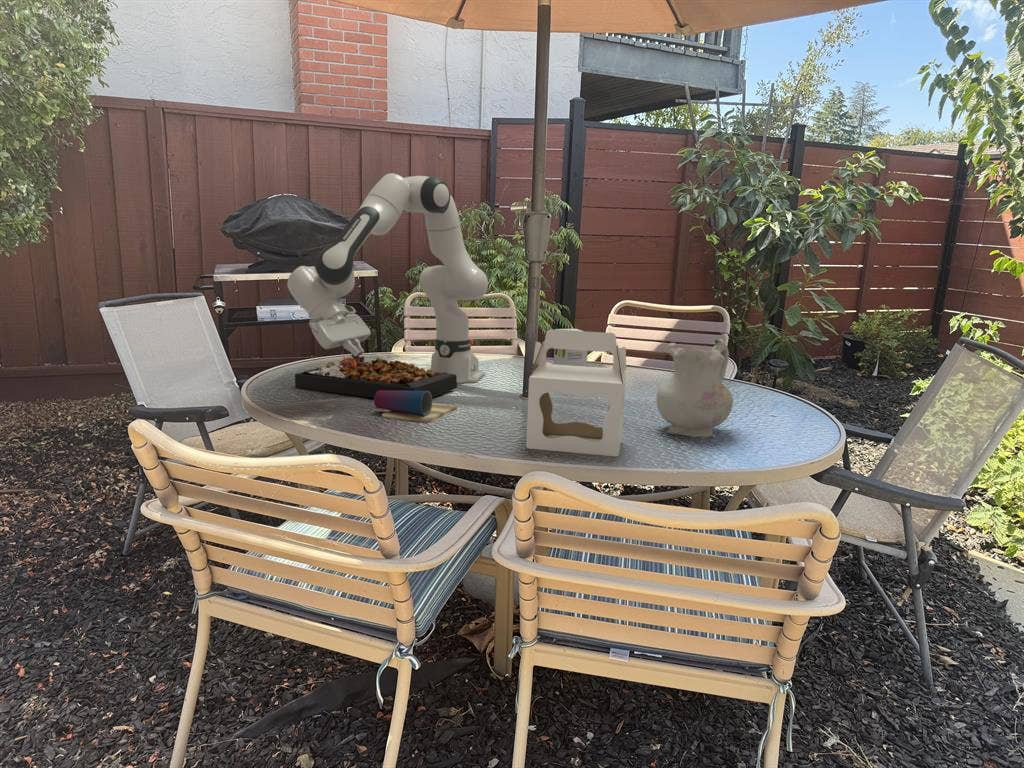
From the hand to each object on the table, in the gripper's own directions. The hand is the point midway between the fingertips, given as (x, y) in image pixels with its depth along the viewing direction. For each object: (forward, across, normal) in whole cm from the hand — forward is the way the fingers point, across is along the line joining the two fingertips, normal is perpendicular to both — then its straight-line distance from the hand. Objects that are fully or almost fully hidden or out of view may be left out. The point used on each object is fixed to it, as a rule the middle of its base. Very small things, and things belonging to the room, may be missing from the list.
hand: (359, 354), depth 194 cm
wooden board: (+23, +5, 0) cm, 23 cm away
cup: (+13, 0, +4) cm, 13 cm away
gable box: (+57, -6, -34) cm, 67 cm away
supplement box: (+38, +80, -15) cm, 90 cm away
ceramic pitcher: (+75, +21, -52) cm, 94 cm away
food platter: (+4, +25, +18) cm, 31 cm away
